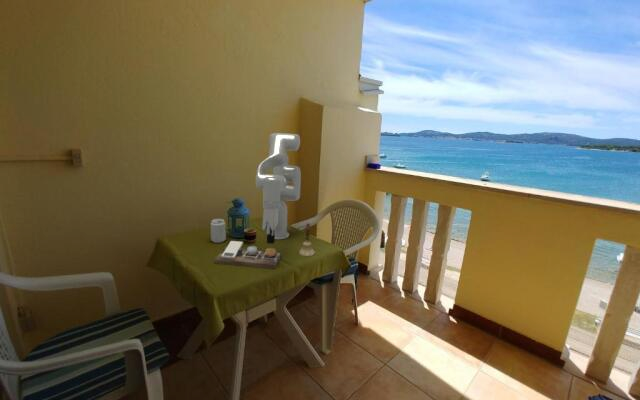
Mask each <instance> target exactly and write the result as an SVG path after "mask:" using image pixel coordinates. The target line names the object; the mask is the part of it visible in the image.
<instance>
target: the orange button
mask: <svg viewBox="0 0 640 400" xmlns="http://www.w3.org/2000/svg"><path fill="white" fill-rule="evenodd" d="M265 251H266V256H269V257H272V256H275V254H276V252H277V251H276V248H274V247H269V248H268V247H267V248H266V249H265Z"/></svg>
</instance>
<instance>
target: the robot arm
mask: <svg viewBox="0 0 640 400" xmlns="http://www.w3.org/2000/svg"><path fill="white" fill-rule="evenodd" d="M268 140H269V141H268V142H269V153H268V156H267V157H266V158H265V159H264V160H263V161H261V162H260V163H259V164H258V167H257V170H256V175H255V182H254V183H255V184H254V185H255V187H256V189H257V190H260V191H262V208H263V213H262V229H261V230H262V231H265V230H266V243H267V244H270V245H271V244H272V245H273V244H274V243H275V240H285V239H287V238H289V236H290V233H289V232H288V230H287V229H288V227H287V226H288V206H287V204H286V203H285V201H286V202H287V201H291V202H295V201H296V202H297V201H298V200H300V197H301V181H302V180H301V179H302V177H301V175H302V173H301V168H300V166H297V165H289V160H290V159H289V156H288V154H287V151H290V152H292V151H293V152H297V151H298V150H299V148H300V146H301V138H300V135H299V134H297V133H286V132H285V133H283V132H274V133H271V134H270V135H269V137H268ZM270 169H272V172H273V173H272V174H271V173H270V174H269V173H266V172H267V171H269V170H270Z"/></svg>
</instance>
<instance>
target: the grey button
mask: <svg viewBox="0 0 640 400" xmlns="http://www.w3.org/2000/svg"><path fill="white" fill-rule="evenodd" d="M246 250H247V254H249V255H254V254H256V253H257V251H258V247H257V246H255V245H252V246H248V247H247V248H246Z"/></svg>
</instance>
